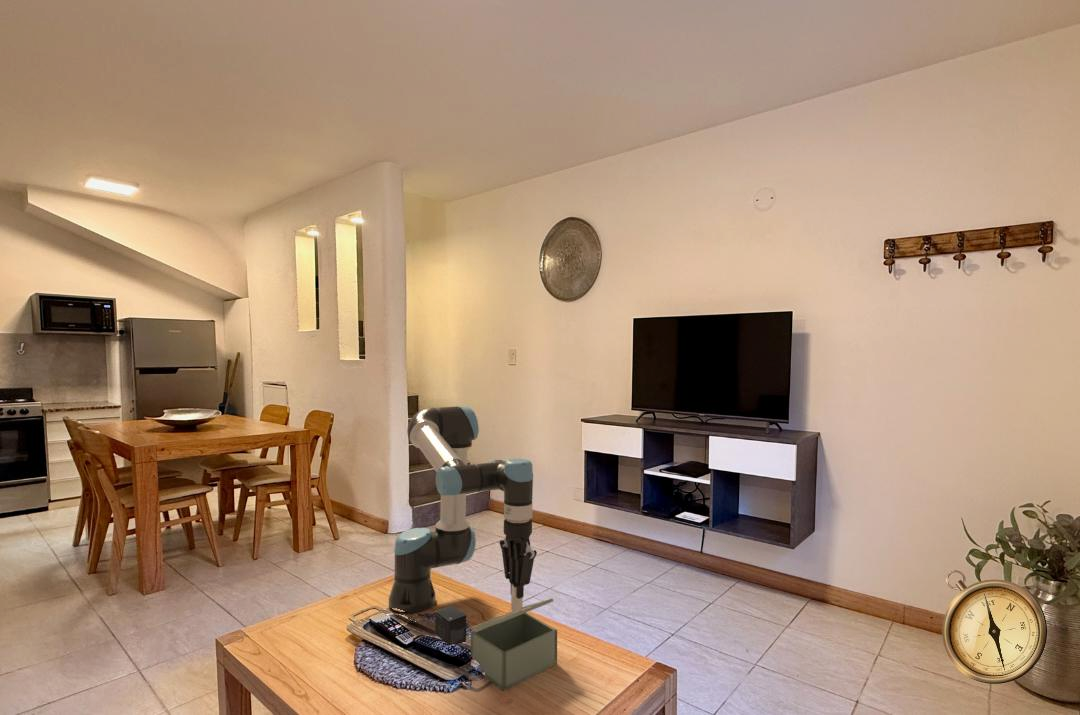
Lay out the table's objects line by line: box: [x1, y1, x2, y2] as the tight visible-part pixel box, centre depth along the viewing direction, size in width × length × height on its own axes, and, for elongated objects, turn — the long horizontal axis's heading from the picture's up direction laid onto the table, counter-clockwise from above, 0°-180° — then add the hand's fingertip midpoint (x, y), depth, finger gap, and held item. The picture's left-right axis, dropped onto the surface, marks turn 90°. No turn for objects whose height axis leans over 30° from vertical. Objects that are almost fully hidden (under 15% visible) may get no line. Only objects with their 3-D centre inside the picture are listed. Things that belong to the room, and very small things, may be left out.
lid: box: [470, 598, 554, 631], centre depth 140 cm, size 14×18×1 cm
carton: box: [470, 612, 558, 692], centre depth 139 cm, size 14×18×9 cm
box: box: [434, 604, 467, 645], centre depth 146 cm, size 8×6×11 cm
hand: (516, 608), depth 138 cm, fingers closed
